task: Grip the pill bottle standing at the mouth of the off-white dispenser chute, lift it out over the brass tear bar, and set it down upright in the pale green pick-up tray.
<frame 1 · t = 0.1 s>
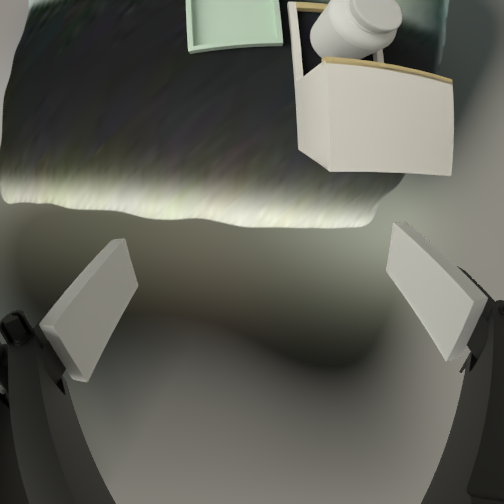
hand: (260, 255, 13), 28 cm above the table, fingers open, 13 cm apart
pill bottle: (335, 41, 30), on the table
tray: (233, 11, 28), on the table
dispenser: (336, 41, 29), on the table
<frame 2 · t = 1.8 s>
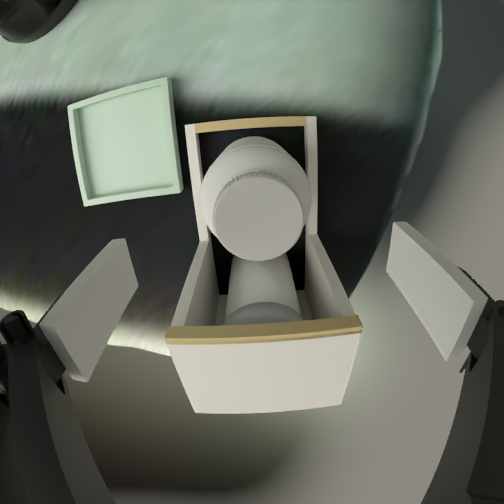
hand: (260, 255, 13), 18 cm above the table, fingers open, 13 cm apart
pill bottle: (254, 171, 29), on the table
tray: (124, 143, 27), on the table
dispenser: (254, 171, 29), on the table
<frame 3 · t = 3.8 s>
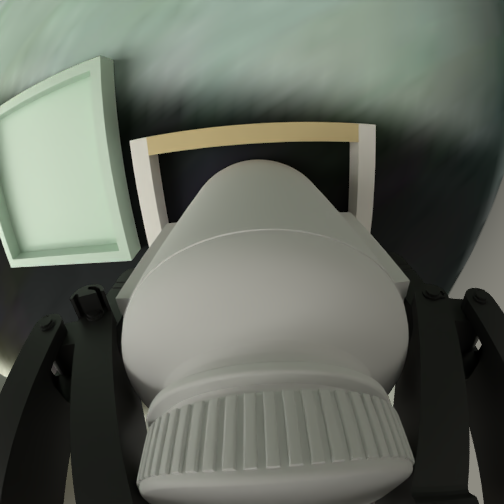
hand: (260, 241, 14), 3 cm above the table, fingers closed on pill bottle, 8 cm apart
pill bottle: (258, 220, 17), on the table, touching gripper
tray: (49, 173, 15), on the table
dispenser: (258, 221, 17), on the table
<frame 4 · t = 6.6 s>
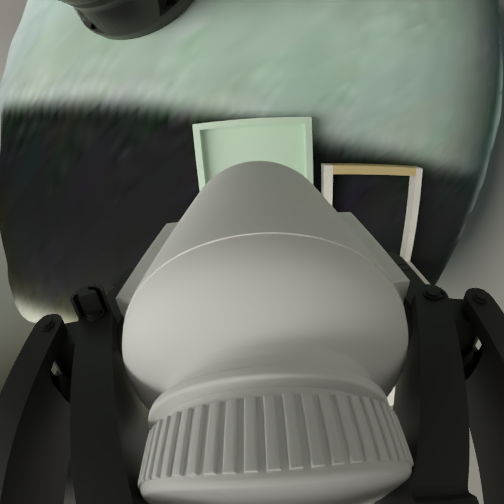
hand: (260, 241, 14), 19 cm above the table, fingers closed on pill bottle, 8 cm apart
pill bottle: (258, 222, 17), point 16 cm above the table, touching gripper
tray: (255, 172, 31), on the table
dispenser: (370, 209, 33), on the table
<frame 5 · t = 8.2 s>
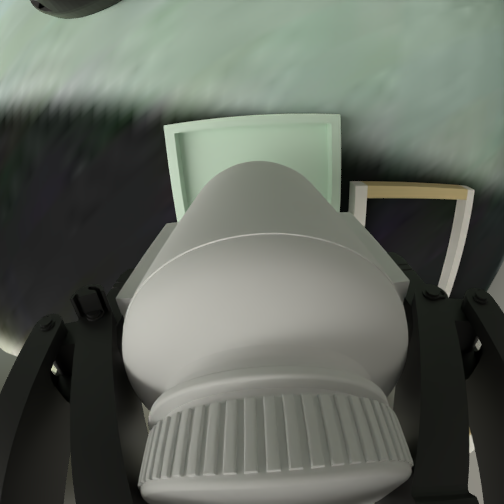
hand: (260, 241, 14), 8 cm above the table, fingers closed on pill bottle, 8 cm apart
pill bottle: (258, 222, 17), point 6 cm above the table, touching gripper
tray: (257, 194, 22), on the table
dispenser: (408, 242, 24), on the table
when the fingers open (4 cm above the table, at t = 9.5 s): pill bottle stays where it is, resting on tray.
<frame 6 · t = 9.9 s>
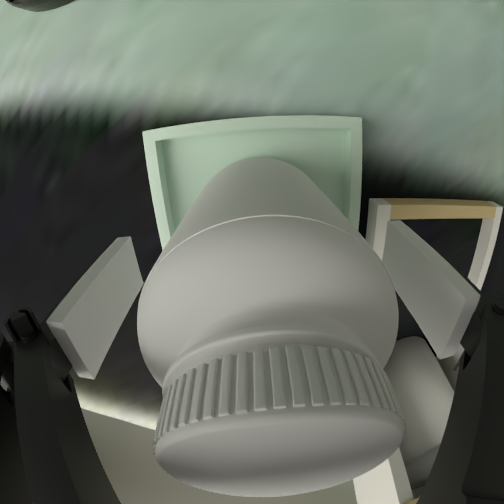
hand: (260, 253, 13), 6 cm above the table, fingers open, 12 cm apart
pill bottle: (260, 215, 18), resting on tray
tray: (258, 214, 18), on the table
dispenser: (429, 266, 20), on the table
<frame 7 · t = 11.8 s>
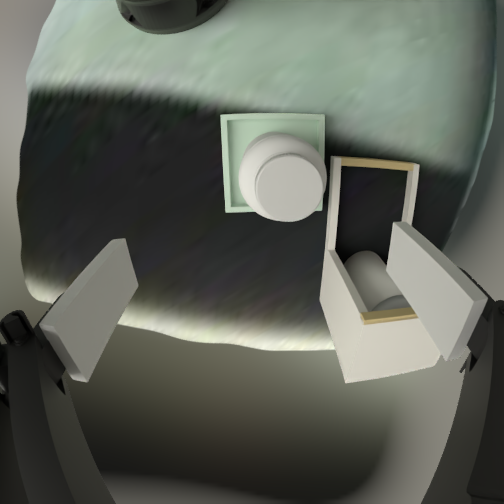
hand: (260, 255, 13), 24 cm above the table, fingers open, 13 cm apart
pill bottle: (274, 161, 34), resting on tray
tray: (273, 161, 35), on the table
dispenser: (372, 199, 37), on the table
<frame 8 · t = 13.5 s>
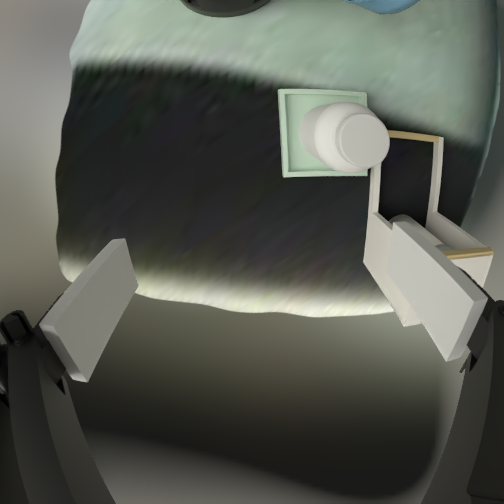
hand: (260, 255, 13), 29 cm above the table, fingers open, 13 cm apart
pill bottle: (324, 132, 36), resting on tray
tray: (323, 132, 37), on the table
dispenser: (406, 167, 38), on the table
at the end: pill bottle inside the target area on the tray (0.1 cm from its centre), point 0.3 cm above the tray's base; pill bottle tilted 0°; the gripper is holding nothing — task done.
